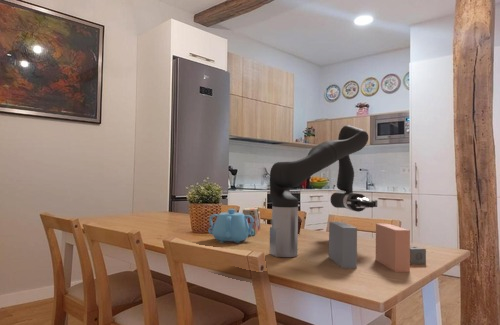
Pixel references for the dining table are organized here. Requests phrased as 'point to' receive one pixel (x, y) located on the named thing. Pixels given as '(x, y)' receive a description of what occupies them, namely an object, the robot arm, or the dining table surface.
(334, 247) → the slate slab
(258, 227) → the stack of blocks
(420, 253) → the dice cube
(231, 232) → the decorative pot
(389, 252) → the terracotta slab
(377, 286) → the dining table surface
